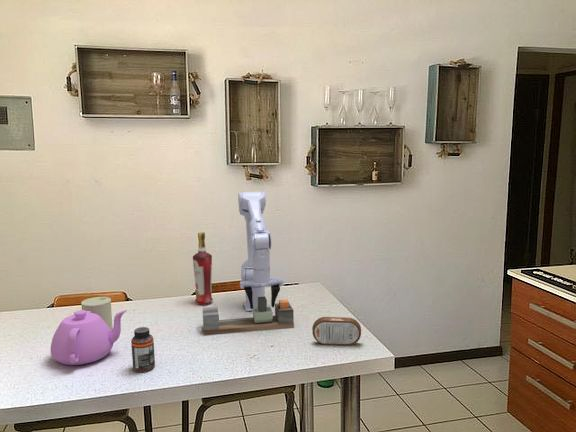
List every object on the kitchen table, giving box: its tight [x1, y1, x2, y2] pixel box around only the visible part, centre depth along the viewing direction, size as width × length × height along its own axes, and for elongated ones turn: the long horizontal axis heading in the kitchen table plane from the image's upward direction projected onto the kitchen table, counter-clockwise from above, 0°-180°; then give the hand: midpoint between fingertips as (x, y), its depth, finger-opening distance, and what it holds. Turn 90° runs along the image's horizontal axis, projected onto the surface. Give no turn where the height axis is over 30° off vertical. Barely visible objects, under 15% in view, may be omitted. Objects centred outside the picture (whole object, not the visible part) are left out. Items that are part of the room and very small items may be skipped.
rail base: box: [202, 302, 295, 336], centre depth 167 cm, size 9×30×6 cm, turn 101°
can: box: [80, 296, 114, 331], centre depth 161 cm, size 9×9×12 cm
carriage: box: [252, 296, 274, 323], centre depth 167 cm, size 6×6×8 cm
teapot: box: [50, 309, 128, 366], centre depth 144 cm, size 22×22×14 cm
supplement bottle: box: [130, 326, 156, 373], centre depth 136 cm, size 6×6×11 cm
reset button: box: [278, 299, 290, 309], centre depth 168 cm, size 3×3×4 cm
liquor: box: [192, 231, 214, 306], centre depth 190 cm, size 7×7×28 cm
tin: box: [311, 316, 362, 346], centre depth 151 cm, size 15×3×8 cm, turn 84°
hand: (262, 307), depth 167 cm, fingers open, 7 cm apart
